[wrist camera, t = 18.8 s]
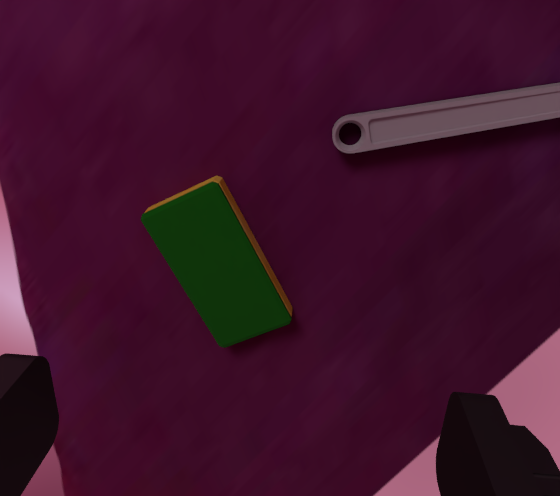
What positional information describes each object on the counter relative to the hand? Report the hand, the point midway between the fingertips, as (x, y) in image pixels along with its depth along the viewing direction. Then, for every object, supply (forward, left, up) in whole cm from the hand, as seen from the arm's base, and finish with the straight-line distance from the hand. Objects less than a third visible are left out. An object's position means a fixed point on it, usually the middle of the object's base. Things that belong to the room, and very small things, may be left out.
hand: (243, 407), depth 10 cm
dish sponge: (+6, +12, -31) cm, 34 cm away
